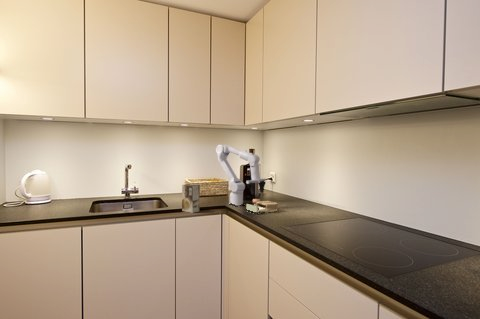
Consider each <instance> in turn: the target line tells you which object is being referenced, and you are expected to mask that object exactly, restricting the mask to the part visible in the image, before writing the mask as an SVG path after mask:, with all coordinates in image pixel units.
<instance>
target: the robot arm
mask: <svg viewBox="0 0 480 319" xmlns="http://www.w3.org/2000/svg"><path fill="white" fill-rule="evenodd" d="M215 153H216V155H217V161H218V163H219V165H220V166H221V168H222V169H223V171H224V173H225V175H226V177H227V179H228V181H229V187H230V190H231V192H230V193H229V204H230V203H232V204H235V205H241V204H243V203H244V190H245V188H246V186H247V188H248V189H249V191H250V194H251V195H255V183H258V187H259V192H260V193H261V194H263V193H264V190H265V185H266V178H265V177H264V178H261V173H260V166H259V165H260V164H259V162H260V156H259V155H258V154H254V153H253V152H249V151H248V150H246V149H243V150H239V149H238V148H236V147H234V146H232V145H229V144H218V145H217V146H216V147H215ZM230 153H233V154H235V155H236V156H239V158H240V159H242V160H244V161H247V162H248V163H249V166H250V167H249V168H250V178H251V179H250V180H249V179H248V180H246V182H245V183H246V184H245V183H244V182H242V180H241V179H240V178H238V177H237V174H236V173H235V171H234V170H233V168H232V166H231V165H230V163H229V161H228V160H227V158H228V156H229V154H230Z"/></svg>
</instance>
